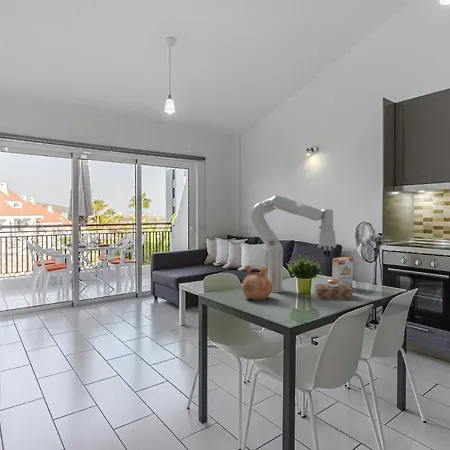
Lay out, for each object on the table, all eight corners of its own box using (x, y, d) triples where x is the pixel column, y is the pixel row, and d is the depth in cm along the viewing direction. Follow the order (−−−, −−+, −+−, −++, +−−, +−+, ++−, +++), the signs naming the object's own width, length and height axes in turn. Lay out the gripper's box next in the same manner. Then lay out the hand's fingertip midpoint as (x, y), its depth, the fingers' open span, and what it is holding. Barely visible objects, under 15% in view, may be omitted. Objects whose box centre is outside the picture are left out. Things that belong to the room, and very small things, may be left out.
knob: (328, 292, 214) (328, 280, 214) (326, 289, 221) (326, 278, 221) (339, 292, 213) (339, 281, 213) (337, 289, 220) (337, 279, 220)
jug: (277, 297, 216) (277, 264, 215) (263, 303, 201) (263, 268, 200) (251, 293, 226) (251, 262, 226) (236, 299, 211) (236, 266, 211)
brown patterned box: (317, 298, 212) (317, 288, 211) (315, 293, 225) (315, 284, 225) (352, 299, 209) (352, 289, 209) (347, 294, 223) (347, 284, 222)
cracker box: (338, 290, 233) (338, 259, 233) (331, 288, 239) (331, 258, 238) (353, 288, 240) (353, 257, 240) (346, 286, 246) (346, 256, 245)
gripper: (315, 228, 225) (315, 257, 226) (340, 228, 223) (340, 257, 224) (314, 228, 233) (314, 255, 233) (338, 228, 230) (338, 256, 231)
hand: (326, 256), depth 228 cm, fingers closed
